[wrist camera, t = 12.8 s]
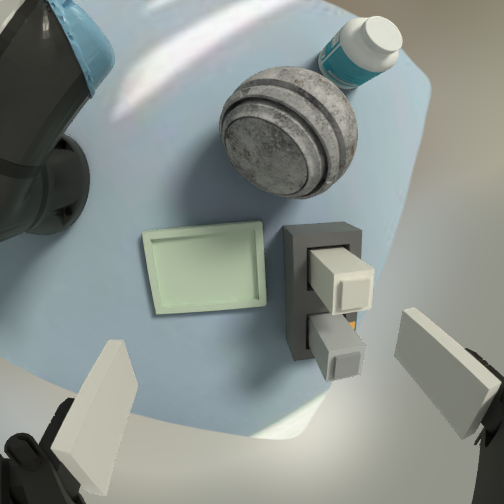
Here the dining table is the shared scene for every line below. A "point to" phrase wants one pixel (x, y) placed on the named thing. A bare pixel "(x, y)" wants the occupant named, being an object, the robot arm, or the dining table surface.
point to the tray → (206, 267)
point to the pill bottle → (360, 51)
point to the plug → (334, 345)
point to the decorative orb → (289, 132)
